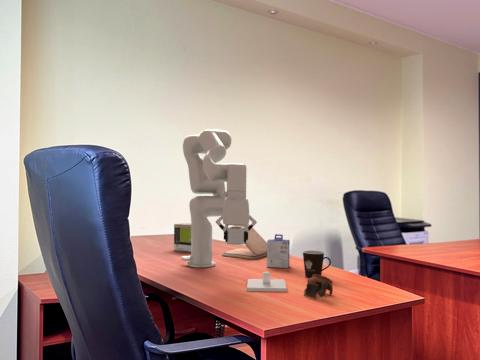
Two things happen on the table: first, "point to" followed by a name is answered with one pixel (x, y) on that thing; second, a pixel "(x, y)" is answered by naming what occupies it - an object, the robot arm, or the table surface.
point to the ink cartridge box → (278, 252)
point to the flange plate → (266, 284)
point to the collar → (235, 235)
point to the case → (250, 246)
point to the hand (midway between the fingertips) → (235, 241)
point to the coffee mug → (314, 262)
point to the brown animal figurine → (318, 286)
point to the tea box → (182, 237)
